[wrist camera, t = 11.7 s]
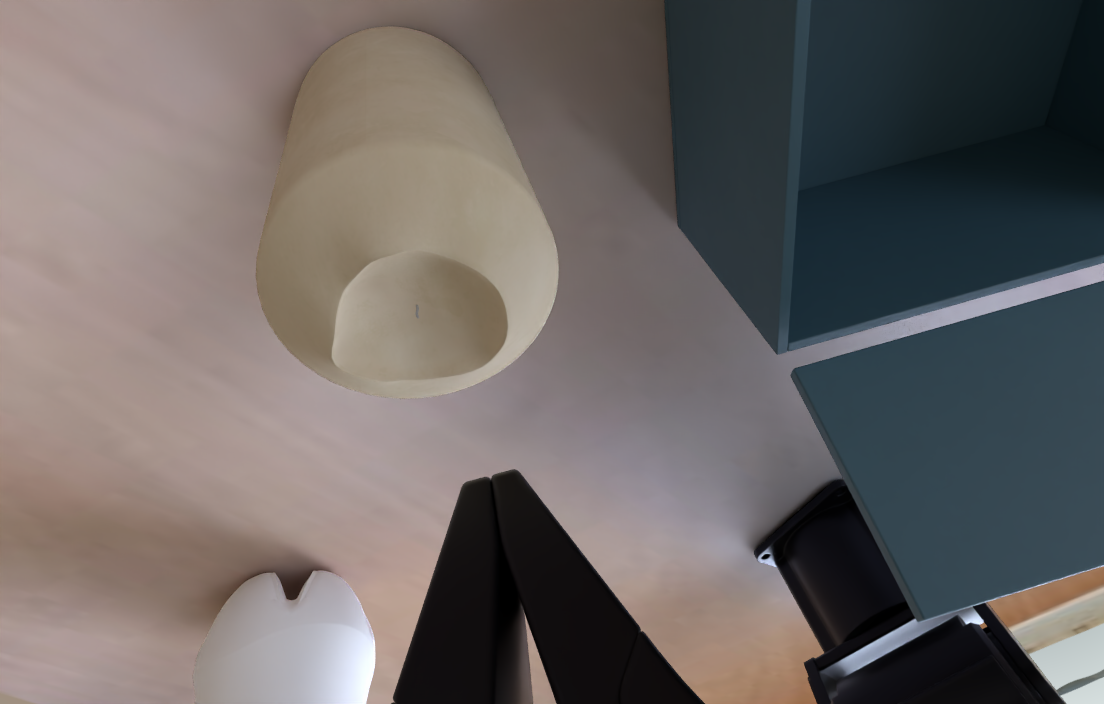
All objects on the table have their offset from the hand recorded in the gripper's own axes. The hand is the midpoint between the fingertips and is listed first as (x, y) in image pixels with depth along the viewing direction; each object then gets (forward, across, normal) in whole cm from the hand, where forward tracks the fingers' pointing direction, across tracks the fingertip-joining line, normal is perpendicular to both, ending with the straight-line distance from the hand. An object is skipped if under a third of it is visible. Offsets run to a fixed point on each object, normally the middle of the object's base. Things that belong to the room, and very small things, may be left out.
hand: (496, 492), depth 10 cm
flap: (+2, -14, +5) cm, 15 cm away
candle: (+13, +1, -1) cm, 13 cm away
